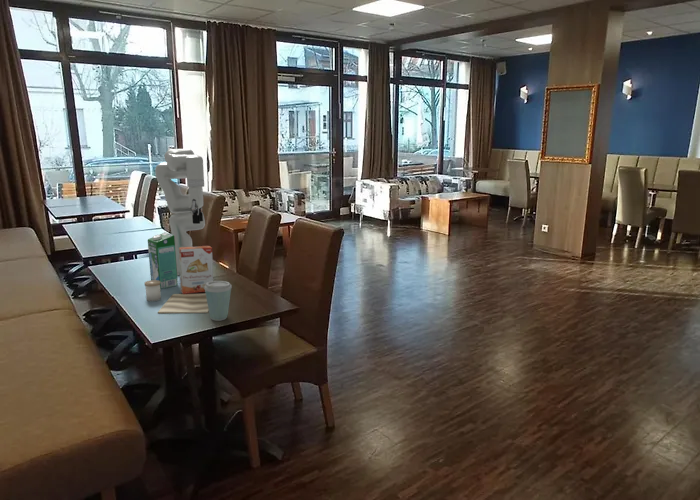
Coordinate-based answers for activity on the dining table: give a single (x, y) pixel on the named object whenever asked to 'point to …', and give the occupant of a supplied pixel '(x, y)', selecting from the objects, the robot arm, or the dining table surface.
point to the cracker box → (195, 268)
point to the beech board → (185, 304)
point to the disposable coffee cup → (218, 299)
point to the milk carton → (163, 259)
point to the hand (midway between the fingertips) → (197, 221)
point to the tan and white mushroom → (153, 290)
